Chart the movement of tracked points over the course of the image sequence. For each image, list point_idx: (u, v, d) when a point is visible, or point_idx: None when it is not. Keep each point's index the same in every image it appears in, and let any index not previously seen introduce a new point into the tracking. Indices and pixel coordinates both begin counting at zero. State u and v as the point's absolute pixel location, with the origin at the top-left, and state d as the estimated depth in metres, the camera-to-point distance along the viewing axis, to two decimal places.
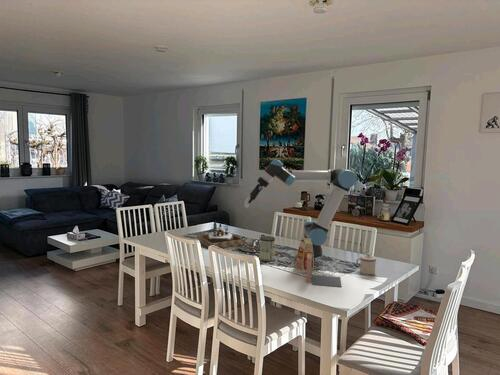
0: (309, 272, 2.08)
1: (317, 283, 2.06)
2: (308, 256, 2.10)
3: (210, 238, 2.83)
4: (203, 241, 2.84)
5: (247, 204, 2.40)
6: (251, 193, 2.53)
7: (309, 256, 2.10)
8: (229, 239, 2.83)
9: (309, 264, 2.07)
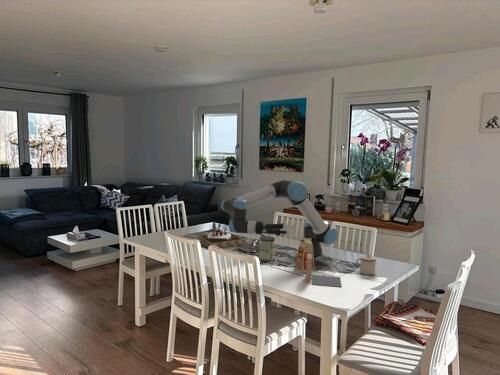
0: (309, 272, 2.08)
1: (317, 283, 2.06)
2: (307, 256, 2.10)
3: (208, 238, 2.83)
4: (203, 241, 2.84)
5: (288, 232, 2.06)
6: (280, 228, 2.19)
7: (309, 256, 2.10)
8: (227, 239, 2.83)
9: (309, 264, 2.07)
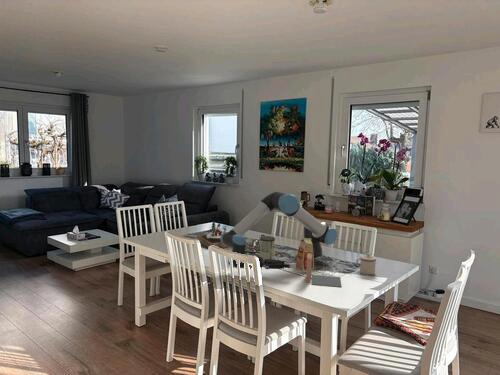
0: (309, 272, 2.08)
1: (317, 283, 2.06)
2: (308, 256, 2.10)
3: (207, 238, 2.84)
4: (203, 241, 2.84)
5: (292, 266, 2.13)
6: None
7: (309, 256, 2.10)
8: None
9: (309, 264, 2.07)
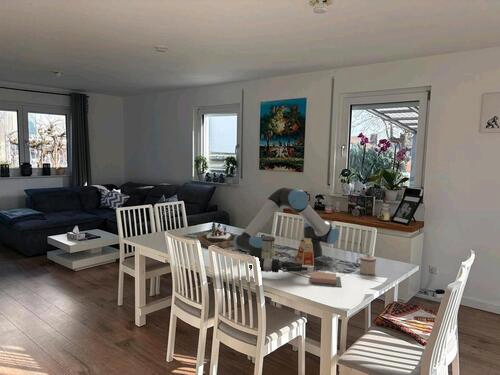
0: (321, 281, 2.07)
1: (317, 283, 2.06)
2: None
3: (207, 238, 2.84)
4: (203, 241, 2.84)
5: (309, 268, 2.11)
6: None
7: None
8: (226, 239, 2.82)
9: (330, 282, 2.06)
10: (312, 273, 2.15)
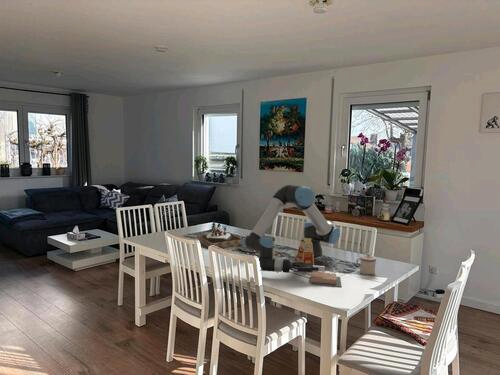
0: (321, 281, 2.07)
1: (317, 283, 2.06)
2: None
3: (207, 238, 2.84)
4: (203, 241, 2.84)
5: (320, 269, 2.10)
6: None
7: None
8: (226, 239, 2.82)
9: (330, 282, 2.06)
10: (312, 273, 2.15)
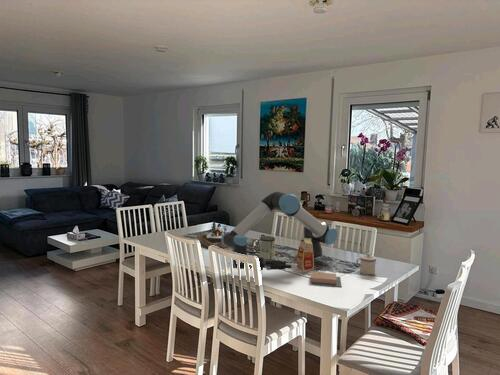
0: (321, 281, 2.07)
1: (317, 283, 2.06)
2: None
3: (207, 237, 2.84)
4: (203, 241, 2.84)
5: (293, 266, 2.13)
6: None
7: None
8: None
9: (330, 282, 2.06)
10: (312, 273, 2.15)
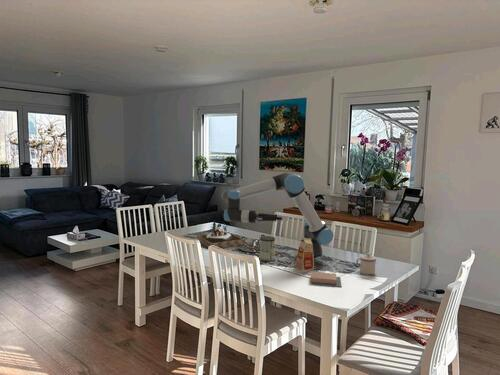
0: (321, 281, 2.07)
1: (317, 283, 2.06)
2: None
3: (207, 237, 2.85)
4: (203, 241, 2.84)
5: (284, 218, 2.25)
6: None
7: None
8: (225, 239, 2.82)
9: (330, 282, 2.06)
10: (312, 273, 2.15)
